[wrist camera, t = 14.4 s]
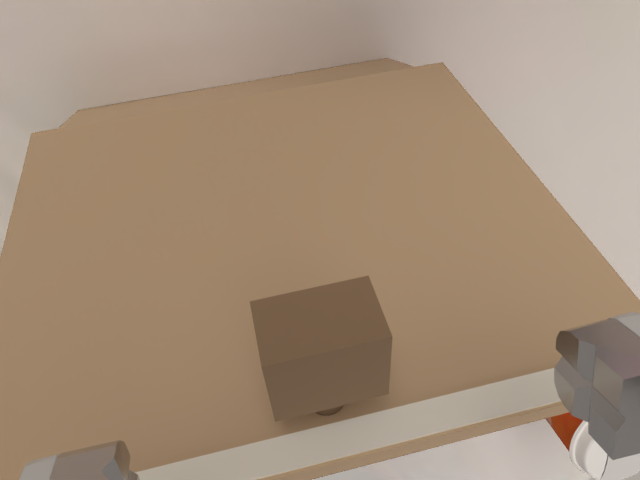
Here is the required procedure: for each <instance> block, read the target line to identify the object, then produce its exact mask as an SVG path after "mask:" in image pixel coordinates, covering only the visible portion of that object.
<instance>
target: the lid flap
mask: <svg viewBox="0 0 640 480" xmlns="http://www.w3.org/2000/svg"><path fill="white" fill-rule="evenodd" d="M629 312H636V313H640V300H639V299H638V298H637V297H636V295H635V294H634V293H633V292H632V291H631V289H630V288H629V287H628V286H627V285H626V283H625V282H624V281H623V280H622V279H621V277H620V276H619V275H618V274H617V272H616V271H615V270H614V269H613V268H612V266H611V265H610V264H609V263H608V262H607V260H606V259H605V258H604V257H603V256H602V254H601V253H600V252H599V251H598V250H597V248H596V247H595V246H594V245H593V243H592V242H591V241H590V240H589V239H588V237H587V236H586V235H585V234H584V233H583V231H582V230H581V229H580V228H579V227H578V225H577V224H576V223H575V222H574V221H573V219H572V218H571V217H570V216H569V215H568V213H567V212H566V211H565V210H564V208H563V207H562V206H561V205H560V204H559V202H558V201H557V200H556V199H555V198H554V196H553V195H552V194H551V193H550V192H549V190H548V189H547V188H546V187H545V186H544V184H543V183H542V182H541V181H540V179H539V178H538V177H537V176H536V175H535V173H534V172H533V171H532V170H531V169H530V167H529V166H528V165H527V164H526V163H525V161H524V160H523V159H522V158H521V157H520V155H519V154H518V153H517V152H516V150H515V149H514V148H513V147H512V146H511V144H510V143H509V142H508V141H507V140H506V138H505V137H504V136H503V135H502V134H501V132H500V131H499V130H498V129H497V128H496V126H495V125H494V124H493V123H492V122H491V120H490V119H489V118H488V117H487V115H486V114H485V113H484V112H483V111H482V109H481V108H480V107H479V106H478V105H477V103H476V102H475V101H474V100H473V99H472V97H471V96H470V95H469V94H468V93H467V91H466V90H465V89H464V88H463V86H462V85H461V84H460V83H459V82H458V80H457V79H456V78H455V77H454V76H453V74H452V73H451V72H450V71H449V70H448V68H447V67H446V66H445V65H444V64H443V62H441V63H435V64H430V65H424V66H418V67H412V68H406V69H401V70H395V71H389V72H383V73H377V74H372V75H366V76H360V77H354V78H348V79H343V80H337V81H331V82H325V83H319V84H314V85H308V86H302V87H296V88H290V89H285V90H279V91H273V92H267V93H261V94H256V95H250V96H244V97H238V98H232V99H227V100H221V101H215V102H209V103H203V104H197V105H192V106H186V107H180V108H174V109H168V110H163V111H157V112H151V113H145V114H139V115H134V116H128V117H122V118H116V119H110V120H105V121H99V122H93V123H87V124H81V125H76V126H70V127H64V128H58V129H52V130H47V131H41V132H35V133H32V134H31V138H30V142H29V146H28V150H27V154H26V158H25V162H24V166H23V170H22V174H21V178H20V182H19V186H18V190H17V194H16V197H15V201H14V205H13V209H12V213H11V217H10V221H9V225H8V229H7V233H6V237H5V241H4V245H3V249H2V253H1V257H0V480H19V479H20V476H21V473H22V471H23V468H24V467H25V466H26V465H27V464H28V463H29V462H30V461H31V460H35V459H40V458H44V457H48V456H53V455H57V454H61V453H64V452H68V451H73V450H77V449H82V448H86V447H90V446H95V445H99V444H104V443H108V442H113V441H117V440H121V441H123V442H125V444H126V447H127V449H128V451H129V453H130V464H129V470H131V471H132V472H134V473H136V474H138V476H139V479H140V480H312V479H316V478H319V477H323V476H327V475H331V474H335V473H338V472H342V471H346V470H350V469H354V468H358V467H361V466H365V465H369V464H373V463H377V462H381V461H384V460H388V459H392V458H396V457H400V456H404V455H407V454H411V453H415V452H419V451H423V450H427V449H430V448H434V447H438V446H442V445H446V444H450V443H453V442H457V441H461V440H465V439H469V438H473V437H476V436H480V435H484V434H488V433H492V432H495V431H499V430H503V429H507V428H511V427H515V426H518V425H522V424H526V423H530V422H534V421H538V420H541V419H545V418H549V417H553V416H557V415H561V414H564V413H568V412H569V411H568V410H567V409H566V408H565V406H564V405H563V403H562V401H561V400H560V398H559V396H558V393H557V390H556V387H555V383H554V367H555V366H556V365H557V363H558V362H559V360H560V359H561V357H562V355H561V354H560V353H559V352H558V351H557V350H556V338H557V336H558V334H559V332H560V331H562V330H566V329H570V328H574V327H577V326H581V325H585V324H589V323H593V322H597V321H601V320H605V319H608V318H611V317H614V316H618V315H622V314H625V313H629Z"/></svg>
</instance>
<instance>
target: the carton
mask: <svg viewBox="0 0 640 480" xmlns="http://www.w3.org/2000/svg"><path fill="white" fill-rule="evenodd" d="M412 67H413V66H410V65H407V64H404V63H401V62H398V61H395V60H392V59H389V58H384V59H378V60H372V61H366V62H360V63H355V64H349V65H343V66H337V67H331V68H325V69H319V70H313V71H307V72H301V73H295V74H289V75H284V76H278V77H272V78H266V79H260V80H254V81H248V82H242V83H236V84H230V85H224V86H218V87H213V88H207V89H201V90H195V91H189V92H183V93H177V94H171V95H165V96H159V97H153V98H148V99H142V100H136V101H130V102H124V103H118V104H112V105H106V106H100V107H94V108H88V109H82V110H78V111H77V112H76V113H75V114H73V115H72V116H71V117H70V118H69V119H68V120H67V121H66V122H65V123H63V124H62V125H61V126H60V127H59V128H64V127H70V126H76V125H81V124H87V123H93V122H99V121H105V120H110V119H116V118H122V117H128V116H134V115H139V114H145V113H151V112H157V111H163V110H168V109H174V108H180V107H186V106H192V105H197V104H203V103H209V102H215V101H221V100H227V99H232V98H238V97H244V96H250V95H256V94H261V93H267V92H273V91H279V90H285V89H290V88H296V87H302V86H308V85H314V84H319V83H325V82H331V81H337V80H343V79H348V78H354V77H360V76H366V75H372V74H377V73H383V72H389V71H395V70H401V69H406V68H412Z"/></svg>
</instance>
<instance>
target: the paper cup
mask: <svg viewBox="0 0 640 480" xmlns="http://www.w3.org/2000/svg"><path fill="white" fill-rule="evenodd" d="M545 419H546V420H547V421H548V423H549V424H550V425H551V427H552V428H553V430H554V431H555V432H556V434H557V435H558V437H559V438H560V439H561V441H562V442H563V444H564V445H565V446H566V448H567V449H568V451H569V453H570V458H571V461H572V463H573V464H574V466H575V467H576V468H577V469H579V470H580V471H582V472H584V473H587V474H589V475H590V476H591V477H593V478H594V479H597V480H622V479H626V478H628V477H630V476H633V475H635V474H637V473H638V472H640V453H639V454H635V455H631V456H627V457H624V458H620V459H616V460H612V459H611V458H610V457H609V456H608V455H607V453H606V452H605V451H604V450H603V449H602V448H601V447H600V446H599V445H598V444H597V442H596V441H595V440H594V439H593V438H592V437H591V436H590V435H589V434H588V422H586V421H584V420H581V419H579V418H576V417H574V416H572V415H571V413H570V412H568V413H564V414H561V415H557V416H553V417H549V418H545Z"/></svg>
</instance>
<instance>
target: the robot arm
mask: <svg viewBox="0 0 640 480" xmlns="http://www.w3.org/2000/svg"><path fill="white" fill-rule="evenodd" d="M556 350H557V351H558V352H559V353H560V354H561V355H562V357H561V359H560V360H559V362H558V363H557V365H556V366H555V367H554V383H555V387H556V390H557V393H558V396H559V398H560V400H561V401H562V403H563V405H564V406H565V408H566V409H567V410H568V411H569V412H570V413H571V415H572V416H574V417H576V418H579V419H581V420H584V421H586V422H588V434H589V435H590V436H591V437H592V438H593V439H594V440H595V441H596V442H597V444H598V445H599V446H600V447H601V448H602V449H603V450H604V451H605V452H606V453H607V455H608V456H609V457H610V458H611V459H612V460H616V459H620V458H624V457H627V456H631V455H635V454H639V453H640V313H636V312H629V313H625V314H622V315H618V316H614V317H611V318H608V319H605V320H601V321H597V322H593V323H589V324H585V325H581V326H577V327H574V328H570V329H566V330H562V331H560V332H559V334H558V336H557V338H556ZM129 464H130V453H129V451H128V449H127V447H126V444H125V442H123V441H121V440H117V441H113V442H108V443H104V444H99V445H95V446H90V447H86V448H82V449H77V450H73V451H68V452H64V453H61V454H57V455H53V456H48V457H44V458H40V459H35V460H31V461H30V462H29V463H28V464H27V465H26V466H25V467H24V468H23V471H22V473H21V476H20V479H19V480H140V479H139V476H138V474H136V473H134V472H132V471H131V470H129Z"/></svg>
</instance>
